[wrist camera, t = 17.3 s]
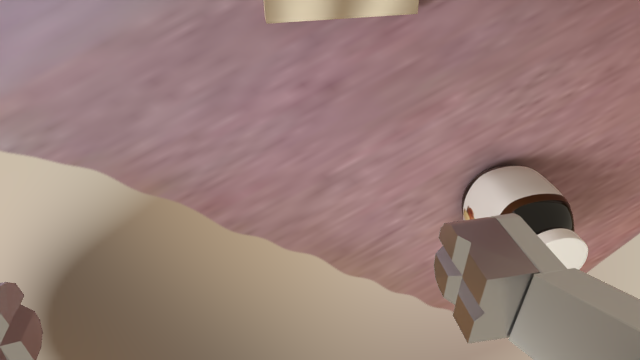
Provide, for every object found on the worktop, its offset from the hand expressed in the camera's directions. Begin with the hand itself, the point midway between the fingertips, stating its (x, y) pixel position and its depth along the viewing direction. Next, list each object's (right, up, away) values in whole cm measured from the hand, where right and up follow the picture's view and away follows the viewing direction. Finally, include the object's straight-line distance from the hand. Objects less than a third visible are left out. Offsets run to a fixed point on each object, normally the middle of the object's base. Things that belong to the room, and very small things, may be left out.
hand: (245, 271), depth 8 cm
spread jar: (+23, 0, +41) cm, 47 cm away
